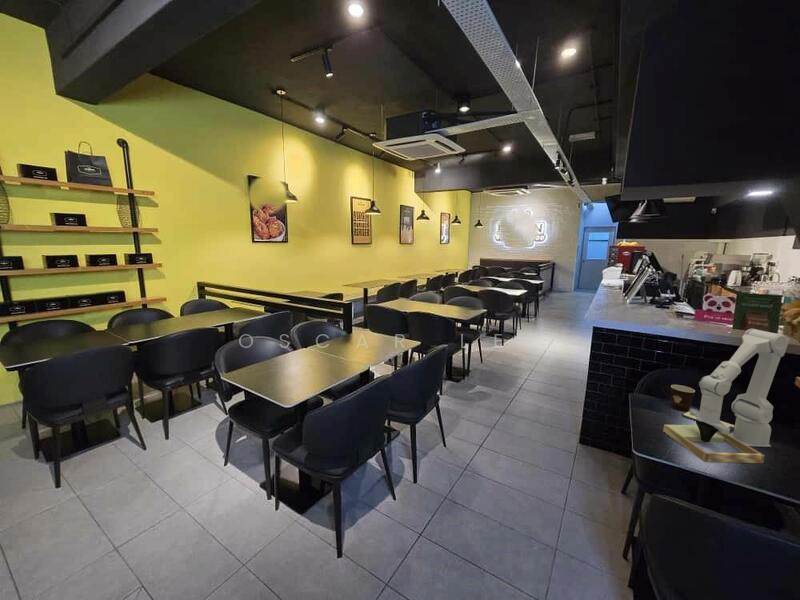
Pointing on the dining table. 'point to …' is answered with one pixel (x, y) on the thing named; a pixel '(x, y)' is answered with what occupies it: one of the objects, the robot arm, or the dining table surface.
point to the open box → (745, 457)
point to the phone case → (691, 417)
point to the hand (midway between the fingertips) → (705, 441)
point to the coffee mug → (680, 397)
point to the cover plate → (694, 433)
